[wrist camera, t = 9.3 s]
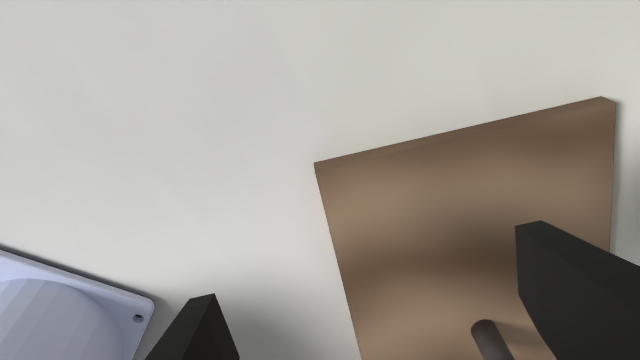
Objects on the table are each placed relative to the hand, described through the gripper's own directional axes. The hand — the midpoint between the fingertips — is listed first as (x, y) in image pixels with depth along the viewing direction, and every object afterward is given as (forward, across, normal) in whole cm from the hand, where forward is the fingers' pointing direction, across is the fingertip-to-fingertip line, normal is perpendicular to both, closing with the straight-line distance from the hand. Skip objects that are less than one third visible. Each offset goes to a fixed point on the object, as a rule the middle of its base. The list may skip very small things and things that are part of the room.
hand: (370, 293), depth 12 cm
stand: (+9, -5, +14) cm, 18 cm away
